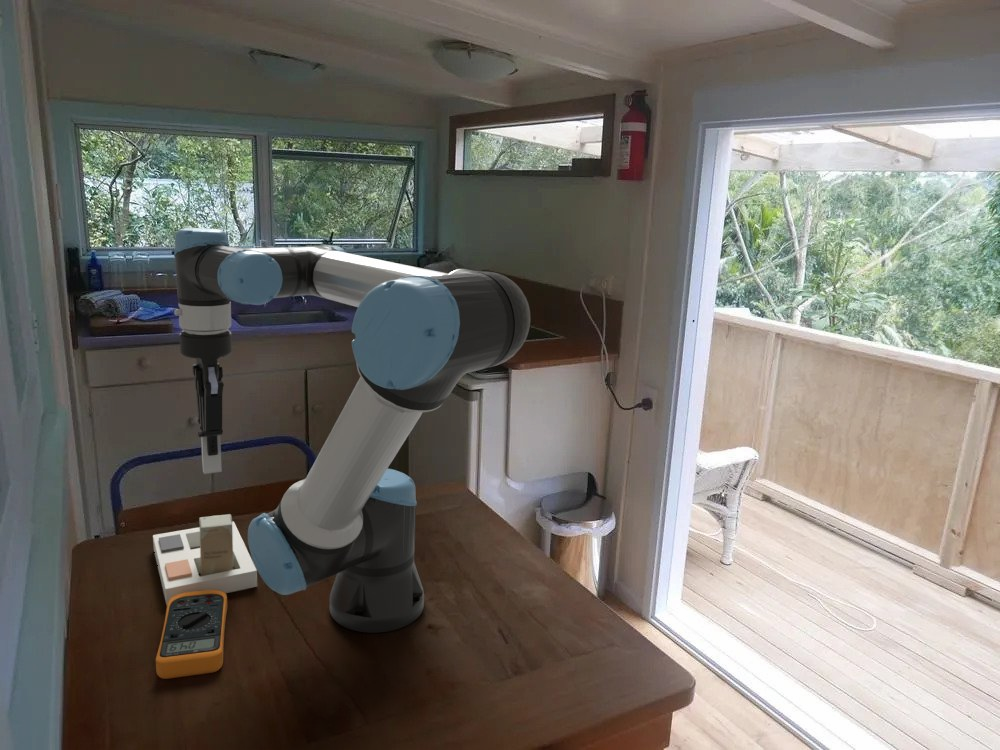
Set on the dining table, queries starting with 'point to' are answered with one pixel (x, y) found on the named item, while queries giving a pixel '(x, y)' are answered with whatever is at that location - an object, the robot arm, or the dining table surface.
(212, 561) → the box
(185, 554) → the socket board
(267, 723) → the dining table surface
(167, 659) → the multimeter
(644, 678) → the dining table surface
